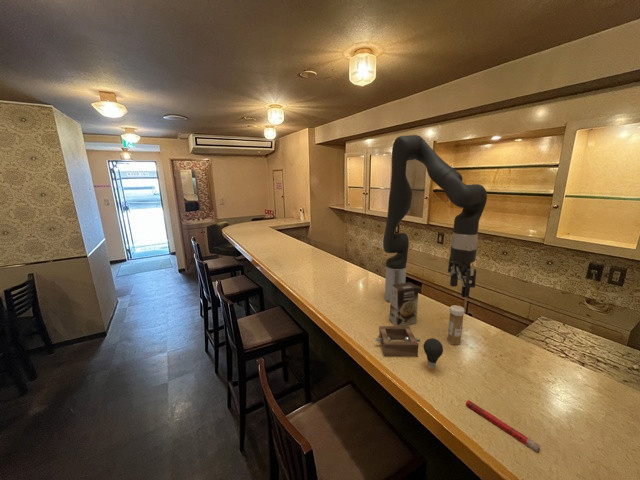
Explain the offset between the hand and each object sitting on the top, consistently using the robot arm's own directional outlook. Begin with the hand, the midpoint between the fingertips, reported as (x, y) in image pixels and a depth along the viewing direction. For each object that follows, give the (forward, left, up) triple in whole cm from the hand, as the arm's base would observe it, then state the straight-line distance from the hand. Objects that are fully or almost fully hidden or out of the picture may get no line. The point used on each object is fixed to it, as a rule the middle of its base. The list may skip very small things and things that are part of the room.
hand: (458, 291), depth 89 cm
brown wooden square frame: (+3, -21, -20) cm, 29 cm away
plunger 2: (+3, -16, -19) cm, 25 cm away
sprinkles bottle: (0, 0, -20) cm, 20 cm away
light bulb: (+13, -13, -20) cm, 27 cm away
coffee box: (-13, -15, -20) cm, 28 cm away
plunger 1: (+3, -26, -19) cm, 32 cm away
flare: (+33, -3, -20) cm, 39 cm away
